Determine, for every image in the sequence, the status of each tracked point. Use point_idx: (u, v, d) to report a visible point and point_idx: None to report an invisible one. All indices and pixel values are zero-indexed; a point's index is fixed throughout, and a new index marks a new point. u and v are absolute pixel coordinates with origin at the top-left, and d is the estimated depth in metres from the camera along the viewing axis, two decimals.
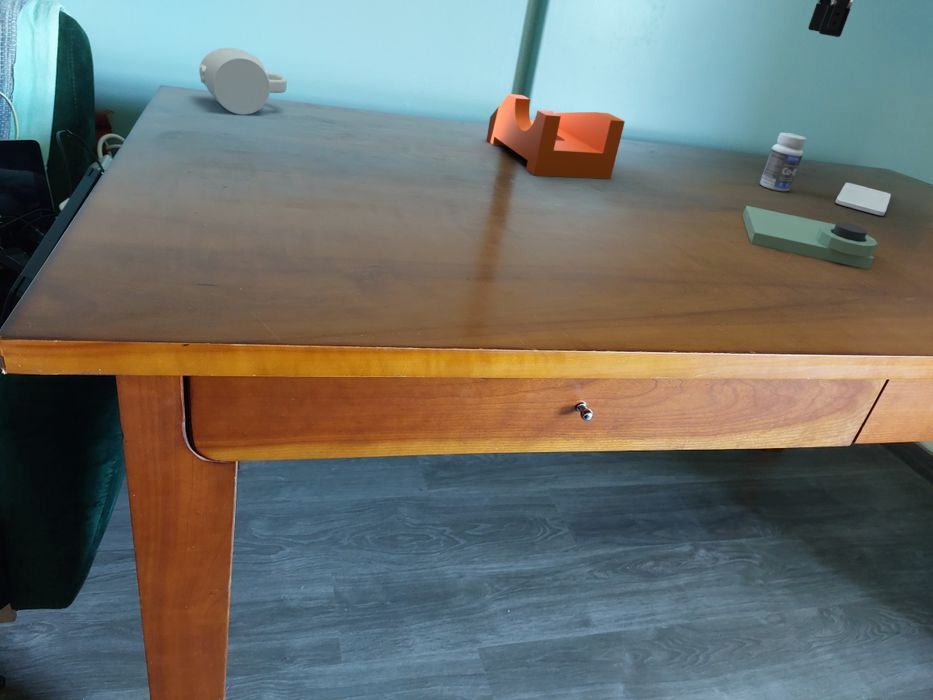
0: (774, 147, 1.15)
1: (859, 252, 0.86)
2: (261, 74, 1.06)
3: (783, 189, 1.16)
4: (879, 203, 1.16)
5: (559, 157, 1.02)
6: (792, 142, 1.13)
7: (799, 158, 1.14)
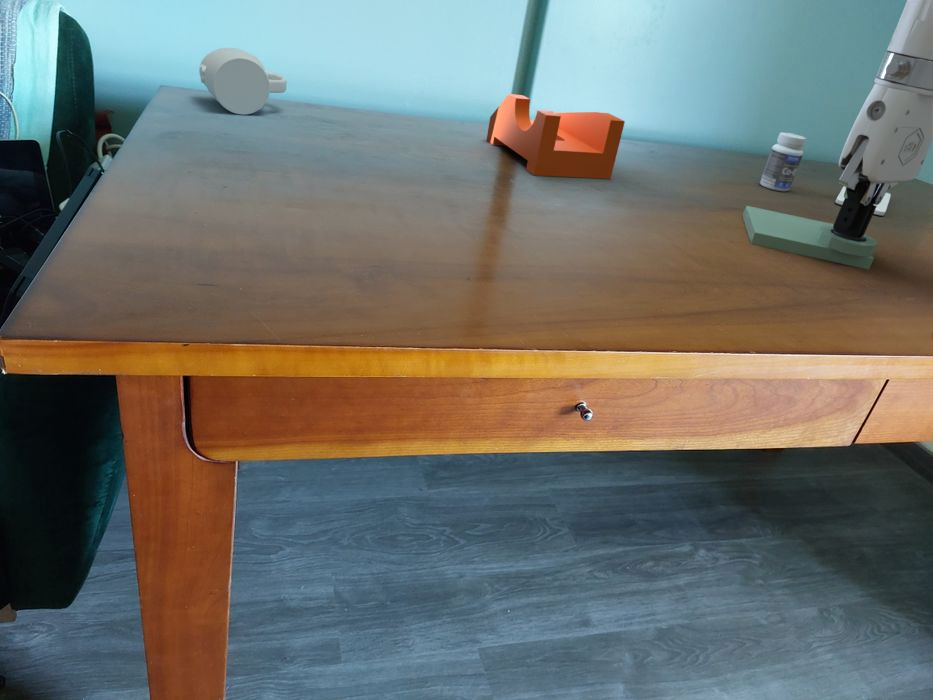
0: (774, 147, 1.15)
1: (859, 252, 0.86)
2: (261, 74, 1.06)
3: (783, 189, 1.16)
4: None
5: (559, 157, 1.02)
6: (792, 142, 1.13)
7: (799, 158, 1.14)
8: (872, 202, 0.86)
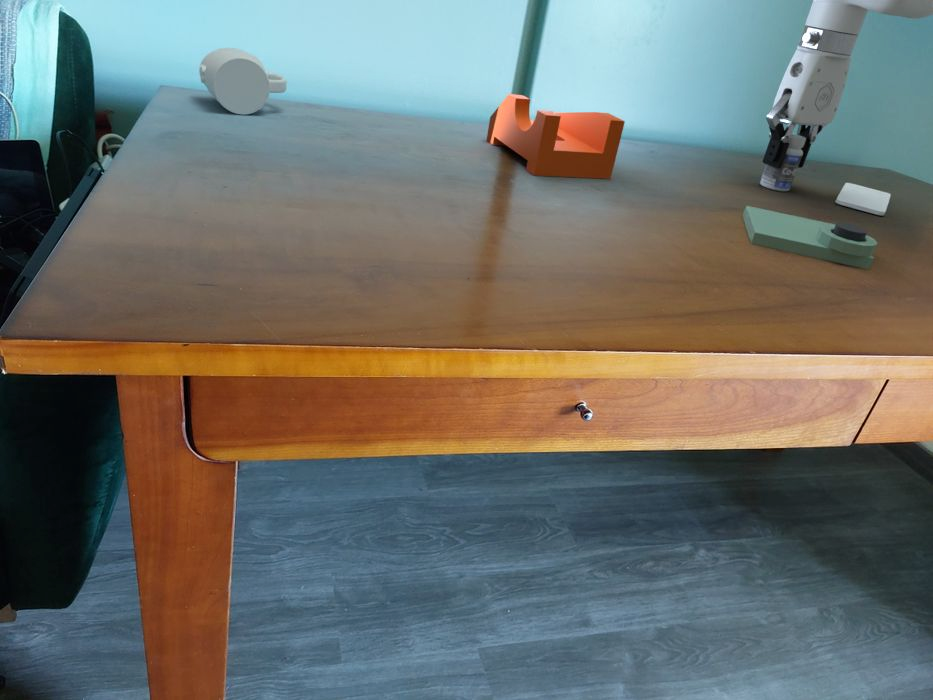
0: None
1: (859, 252, 0.86)
2: (261, 74, 1.06)
3: (783, 189, 1.16)
4: (879, 203, 1.16)
5: (559, 157, 1.02)
6: (792, 142, 1.13)
7: (799, 158, 1.14)
8: (808, 140, 1.15)
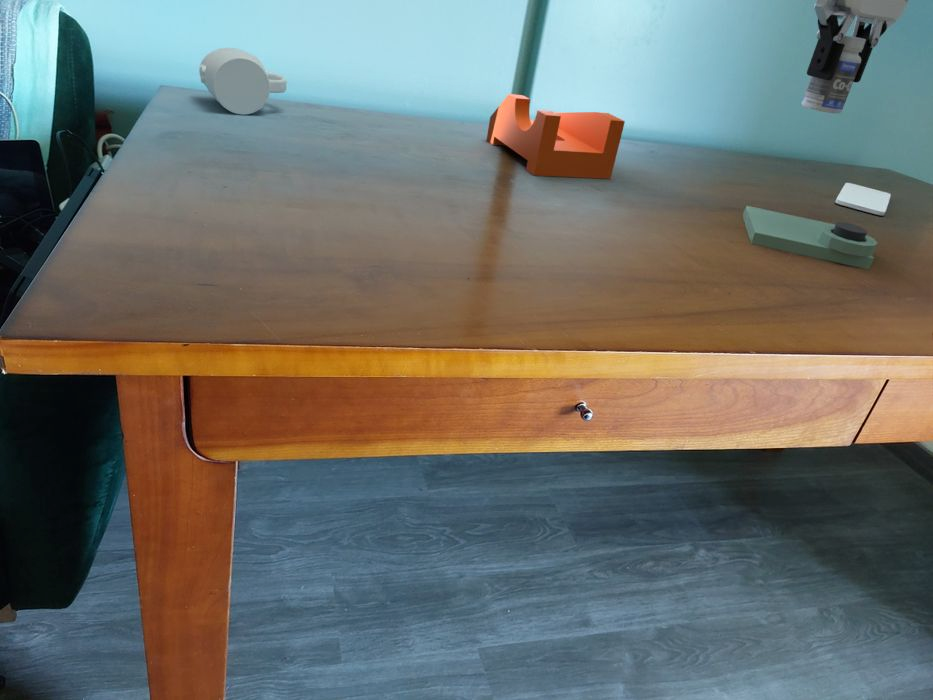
0: None
1: (859, 252, 0.86)
2: (261, 74, 1.06)
3: (834, 110, 0.87)
4: (879, 203, 1.16)
5: (559, 157, 1.02)
6: (847, 44, 0.84)
7: (856, 66, 0.85)
8: (868, 44, 0.86)
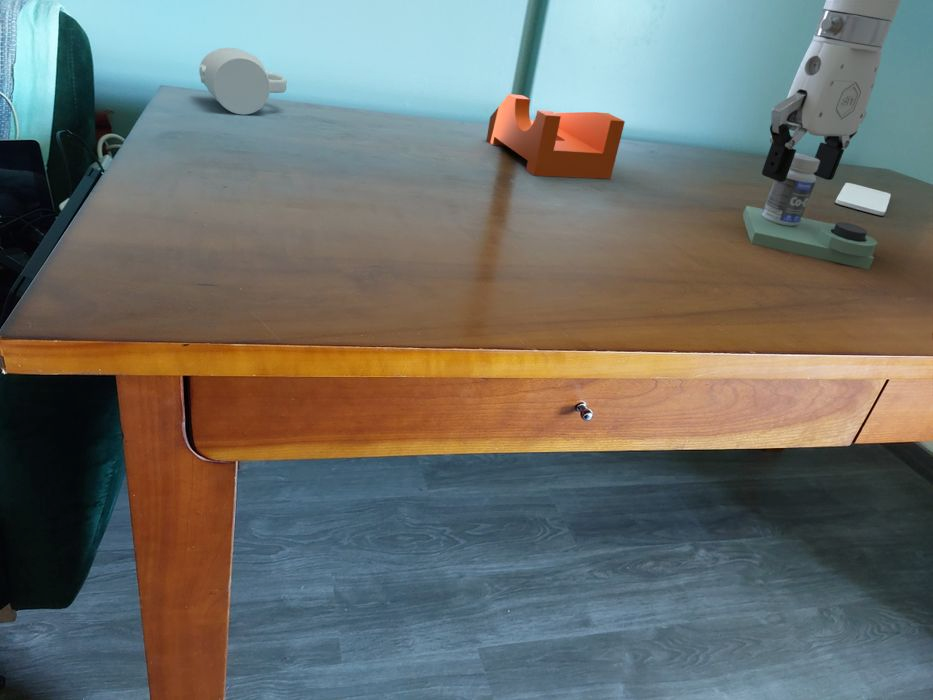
0: None
1: (859, 252, 0.86)
2: (261, 74, 1.06)
3: (791, 223, 0.93)
4: (879, 203, 1.16)
5: (559, 157, 1.02)
6: (802, 166, 0.90)
7: (811, 185, 0.91)
8: (840, 146, 0.92)
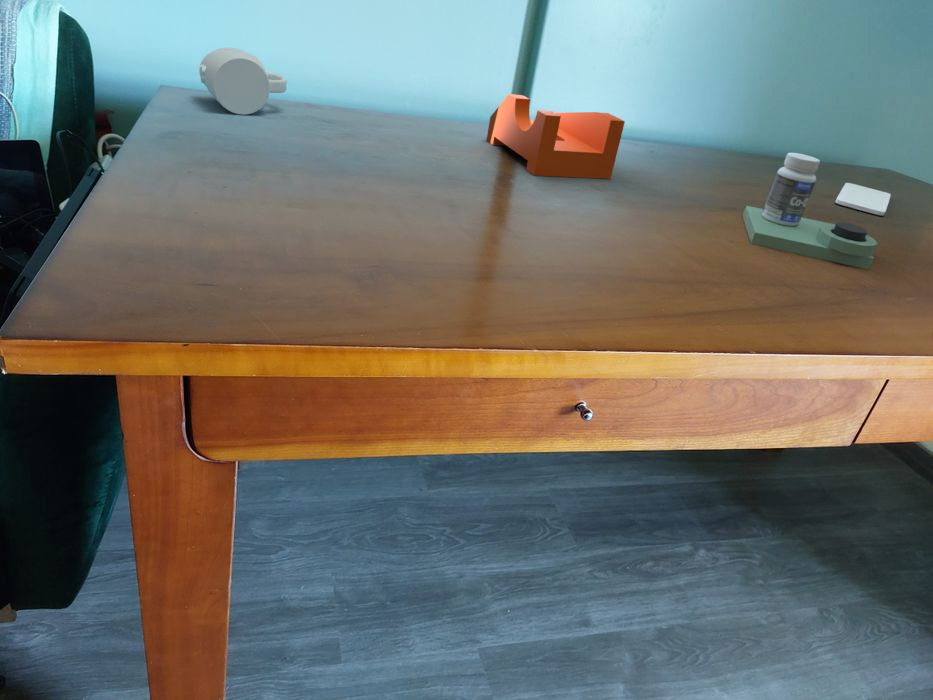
0: (780, 171, 0.92)
1: (859, 252, 0.86)
2: (261, 74, 1.06)
3: (791, 223, 0.93)
4: (879, 203, 1.16)
5: (559, 157, 1.02)
6: (802, 166, 0.90)
7: (811, 185, 0.91)
8: None
